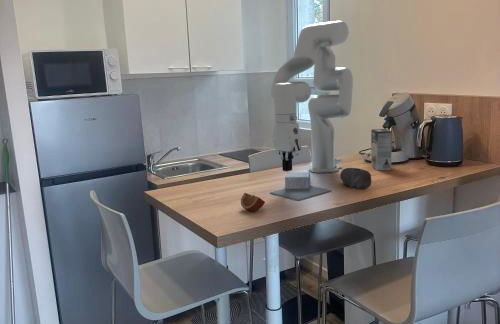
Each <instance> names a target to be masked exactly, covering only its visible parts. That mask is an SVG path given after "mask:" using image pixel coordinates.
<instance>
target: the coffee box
mask: <svg viewBox="0 0 500 324" xmlns="http://www.w3.org/2000/svg"><path fill="white" fill-rule="evenodd" d="M370 131H371V134H370V135H371V136H370V137H371V139H370V140H371V142H370V143H371V146H370V148H371V150H370V153H371V158H370V159H371V160H370V161H371V163H370V165H371V167H372V168H373V169H375V170H376V171H387V170H388V171H389V170H392V146H393V145H392V142H393V140H392V139H393V138H392V137H393V131H391V130H389V129H387V128H376V129H374V128H373V129H371V130H370Z"/></svg>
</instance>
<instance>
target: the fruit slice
mask: <svg viewBox="0 0 500 324" xmlns="http://www.w3.org/2000/svg"><path fill="white" fill-rule="evenodd" d="M240 204H241V207H242V208H243V209H244V210H246V211H247V212H256V211H258V210H260V209H261V208H262V207H263V206H264V205H265V204H266V202H265V200H263V199H262V198H261V197H259V196H257V195H256V196H255V195H254V194H253V195H251V194H249V193H246V192H244V193H243V194H242V197H241V198H240Z"/></svg>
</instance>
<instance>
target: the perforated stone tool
mask: <svg viewBox="0 0 500 324" xmlns="http://www.w3.org/2000/svg"><path fill="white" fill-rule="evenodd" d="M339 176H340V177H339V178H340V180H341V182H342V183H343V184H344V185H347V186H348V187H350V188H353V189H354V188H355V189H356V188H357V189H358V190H363V189H368V188H369V187H370V186H371V184H372V174H371V173H370V171H368V170H365V169H361V168H358V167H346V168H343V169H342V170H341V172H340V175H339Z"/></svg>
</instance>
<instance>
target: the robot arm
mask: <svg viewBox="0 0 500 324" xmlns="http://www.w3.org/2000/svg"><path fill="white" fill-rule="evenodd" d="M299 32H300V33H299V36H298V38H297V42H296V45H295V49H294V52H293V55H292V57H290V58H289V59H288V60H287V61H286V62H284V64H282V65H281V67H279V69H277V71H276V73H275V75H274V79H273V82H272V85H271V90H270V96H271V99H272V101H273V105H274V106H273V107H274V109H273V110H274V124H273V136H272V137H273V139H272V140H273V142H272V143H273V148H274V150H275V153H276V154H278V155H279V156H280V160H281V161H282V162H281V164H282V165H281V167H282V171H283V172H287V173H288V172H290V171H293V160H294V158H295V156H299V154H300V153H299V151H301V150H302V136H301V130H300V124H299V122H298V121H297V120H298V116H297V103H298V104H300V103H301V104H303V103H305V102H307V101H308V103H307V110H308V113H309V119H310V130H311V131H310V132H311V133H310V134H311V136H310V138H311V141H310V142H311V165H310V166H308V171H309V172H310V173H317V174H327V173H334V172H338V171H339V168H340V167H339V166H337V164H340V163H342V161H343V160H342V158H336V156H335V155H336V152H335V150H336V149H335V127H334V125H333V123H332V122H331V121H332V120H330V119H345V118H348V117H349V116H350V114H351V111H352V102H353V89H354V87H353V86H354V85H353V83H354V82H353V81H354V78H353V74H352V71H351V69H350V68H348V67H344V66H343V67H342V66H340V67H336V55H335V52H334V51H333V50H332V48H331V47H333V46H338V45H341V44H344V43H345V42H346V41H347V40H348V37H349V34H350V33H349V27H348V24H347V23H346V22H345V21H344V20H336V21H335V20H334V21H326V22H319V23H318V22H317V23H313V24H308V25H305V26H304V27H303V28H301V30H300V31H299ZM312 67H313V89H314V90H315V91H317V92H323V93H325V92H338V94H317V95H313V96H312V97H311V95H312V89H311V86H310V84H308V83H307V82H305V81H289V80H291V79H292V78H293V77H295V76H296V75H299V74H301V73H303V72H305V71H307V70H310V69H311V68H312ZM310 97H311V98H310Z"/></svg>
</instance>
